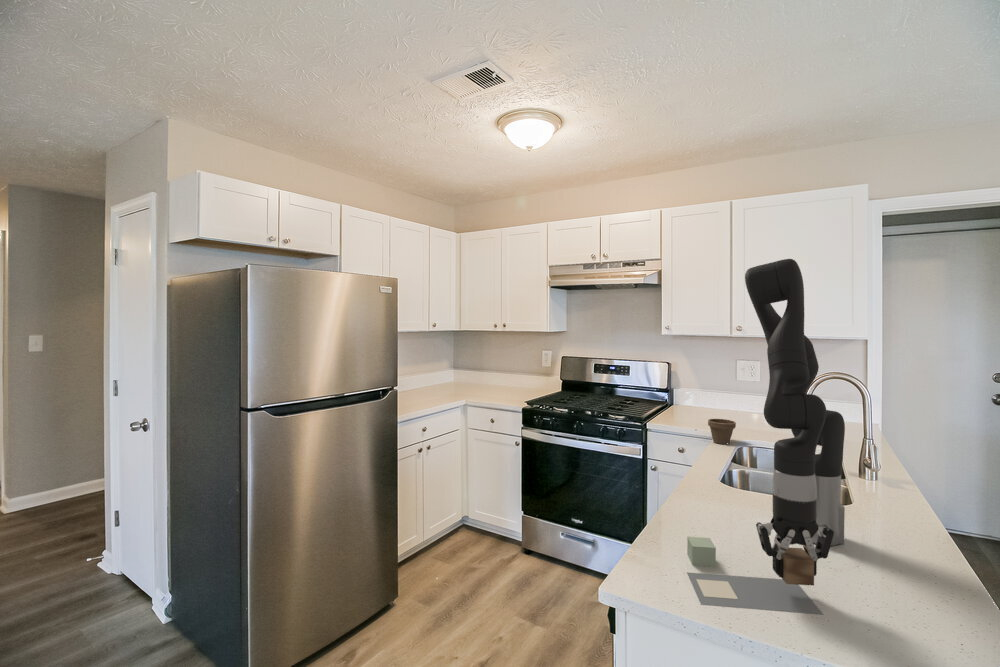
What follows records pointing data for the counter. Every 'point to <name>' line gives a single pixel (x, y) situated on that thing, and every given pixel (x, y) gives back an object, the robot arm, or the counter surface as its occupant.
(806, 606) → the build mat
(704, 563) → the sage block
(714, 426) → the flower pot
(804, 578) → the walnut block
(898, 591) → the counter surface
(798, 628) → the counter surface
